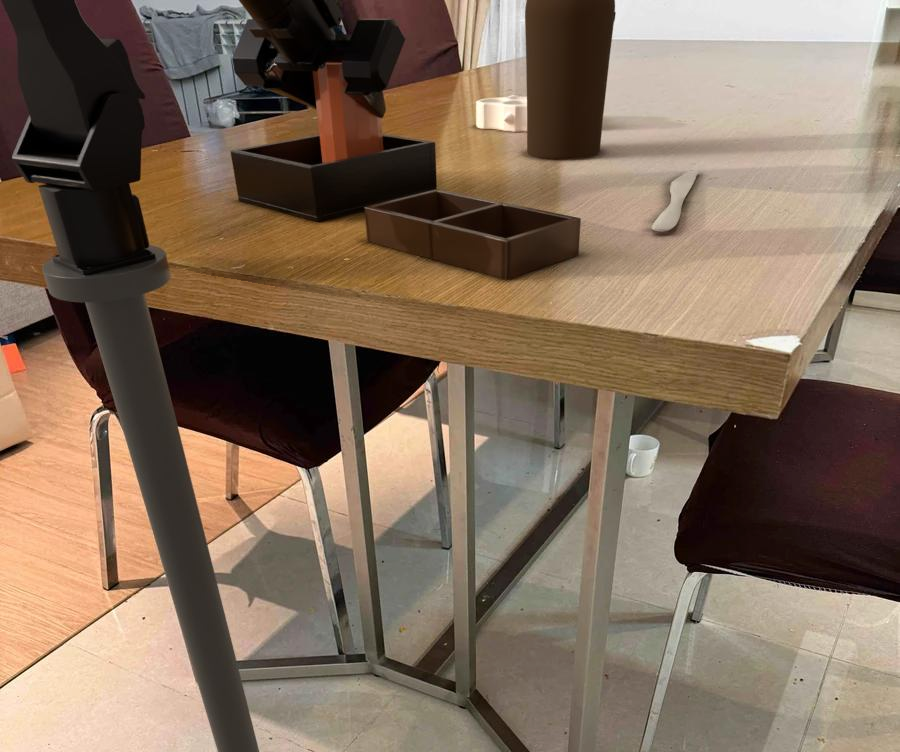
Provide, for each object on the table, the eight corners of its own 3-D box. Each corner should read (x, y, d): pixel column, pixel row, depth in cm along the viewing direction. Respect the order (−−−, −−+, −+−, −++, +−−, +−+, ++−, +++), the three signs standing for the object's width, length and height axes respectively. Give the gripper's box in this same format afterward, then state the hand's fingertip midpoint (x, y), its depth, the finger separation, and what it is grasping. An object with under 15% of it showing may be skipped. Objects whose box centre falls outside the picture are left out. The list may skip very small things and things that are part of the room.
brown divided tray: (506, 280, 68) (506, 241, 66) (367, 241, 78) (363, 206, 76) (578, 254, 73) (581, 217, 71) (438, 221, 83) (437, 188, 81)
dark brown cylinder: (558, 164, 103) (569, -100, 88) (506, 152, 110) (508, -94, 95) (621, 152, 108) (643, -101, 93) (567, 142, 115) (579, -95, 100)
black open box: (317, 222, 85) (310, 167, 81) (238, 201, 93) (229, 150, 90) (437, 192, 93) (435, 141, 90) (355, 175, 102) (351, 128, 99)
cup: (387, 190, 92) (379, 62, 85) (325, 194, 92) (311, 65, 84) (383, 178, 98) (374, 56, 90) (324, 181, 97) (311, 59, 90)
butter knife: (640, 226, 77) (673, 226, 76) (678, 169, 97) (705, 169, 96) (640, 233, 77) (673, 232, 76) (678, 175, 97) (705, 174, 96)
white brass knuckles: (607, 119, 129) (584, 135, 118) (496, 116, 134) (464, 132, 124) (608, 93, 127) (585, 108, 116) (496, 92, 132) (464, 105, 122)
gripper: (386, -93, 73) (455, 46, 88) (230, -82, 82) (316, 43, 96) (340, 23, 73) (417, 144, 87) (188, 22, 81) (281, 132, 95)
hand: (356, 112), depth 91 cm, fingers closed on cup, 7 cm apart
